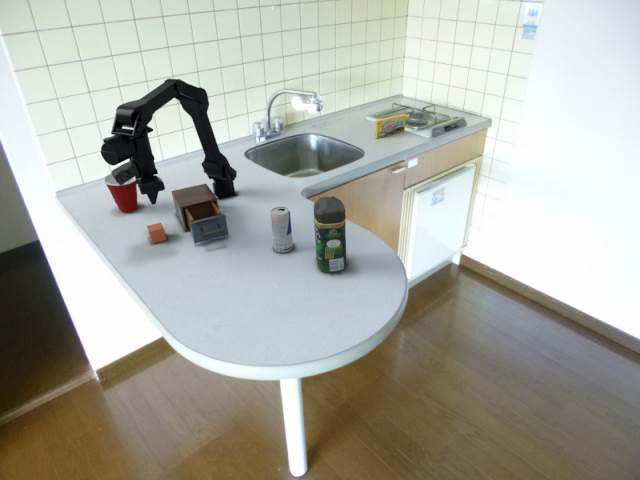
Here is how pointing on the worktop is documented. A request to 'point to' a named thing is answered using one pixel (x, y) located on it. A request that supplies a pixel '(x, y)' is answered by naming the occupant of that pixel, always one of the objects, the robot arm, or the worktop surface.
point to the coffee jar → (330, 234)
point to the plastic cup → (123, 193)
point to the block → (156, 233)
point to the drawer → (206, 222)
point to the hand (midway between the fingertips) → (153, 203)
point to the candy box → (390, 126)
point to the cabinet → (191, 200)
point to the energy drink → (281, 229)
